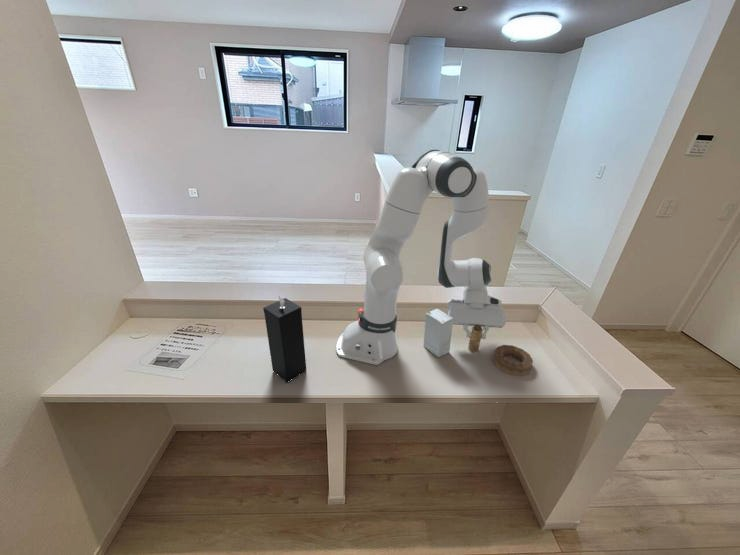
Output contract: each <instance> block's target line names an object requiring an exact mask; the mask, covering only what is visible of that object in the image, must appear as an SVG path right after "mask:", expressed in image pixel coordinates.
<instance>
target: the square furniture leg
mask: <svg viewBox="0 0 740 555" xmlns="http://www.w3.org/2000/svg"><path fill="white" fill-rule="evenodd" d="M262 310H263V315H264V319H265V327H266V334H267V341H268V346H269V347H268V348H269V354H270V359H271V368H272V372H273V371H274V372H275V373H276V374H275V373H274V372H273V373H274V374H275V375H277V374H278V375H279V376H280V377H281V378H282V379H281V378H280V377H279V376H278V375H277V376H278V377H279V378H280V379H281V380H283V379H284V380H285V381H286V382H288V381H290V380H291V379H293V378H294V379H296V378H297V377H299V376H300V375H302V374H303V372H304V371H305V372H306V371H307V362H306V361H307V360H306V350H305V336H304V328H303V314H302V312H303V311H302V306H300V305H299V304H296V303H295V302H293V301H291V300H290V299H288V298H286V297H285V298H282V297H281V296H280V295H278V301H276V302H273V303H271V304H269V305H266V306H264V307H263V309H262ZM305 372H304V373H305ZM301 373H302V374H301ZM299 374H300V375H299ZM298 375H299V376H298ZM296 376H297V377H296ZM295 377H296V378H295ZM294 379H293V380H294ZM284 380H283V381H284ZM285 381H284V382H285ZM291 381H292V380H291ZM291 381H290V382H291ZM286 382H285V383H286ZM288 383H289V382H288Z"/></svg>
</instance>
